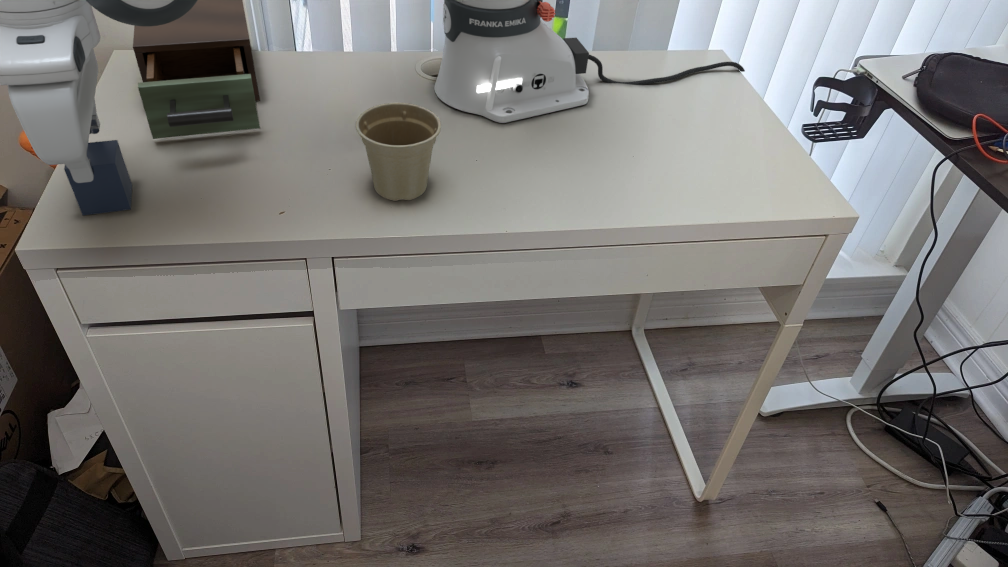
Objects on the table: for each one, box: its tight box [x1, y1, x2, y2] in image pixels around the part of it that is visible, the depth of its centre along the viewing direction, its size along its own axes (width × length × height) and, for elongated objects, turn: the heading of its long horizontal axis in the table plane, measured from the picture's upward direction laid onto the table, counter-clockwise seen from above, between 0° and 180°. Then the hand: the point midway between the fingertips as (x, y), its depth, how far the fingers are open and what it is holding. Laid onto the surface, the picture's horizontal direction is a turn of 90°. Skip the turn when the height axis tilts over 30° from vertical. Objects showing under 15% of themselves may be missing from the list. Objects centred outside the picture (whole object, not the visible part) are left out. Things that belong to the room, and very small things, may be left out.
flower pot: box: [355, 102, 442, 202], centre depth 83 cm, size 9×9×9 cm
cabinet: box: [132, 0, 261, 102], centre depth 99 cm, size 16×14×9 cm
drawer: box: [137, 46, 261, 140], centre depth 91 cm, size 20×13×7 cm, turn 19°
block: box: [63, 139, 133, 216], centre depth 78 cm, size 5×5×6 cm
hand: (88, 153), depth 76 cm, fingers open, 8 cm apart
